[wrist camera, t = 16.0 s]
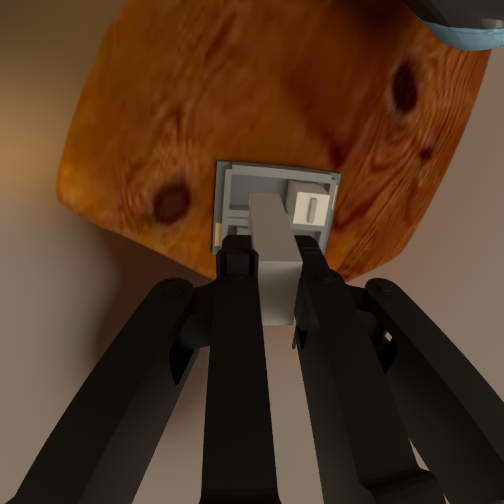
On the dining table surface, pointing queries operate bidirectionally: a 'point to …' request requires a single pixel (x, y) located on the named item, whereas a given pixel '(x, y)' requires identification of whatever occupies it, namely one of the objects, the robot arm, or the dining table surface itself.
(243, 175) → the switch bank
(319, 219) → the ivory tab
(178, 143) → the dining table surface
